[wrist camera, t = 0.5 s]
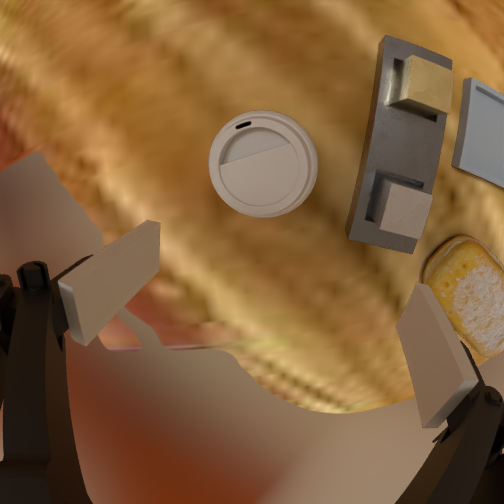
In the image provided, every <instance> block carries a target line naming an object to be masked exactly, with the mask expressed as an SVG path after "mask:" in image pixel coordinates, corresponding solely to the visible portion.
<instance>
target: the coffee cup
mask: <svg viewBox="0 0 504 504" xmlns="http://www.w3.org/2000/svg"><path fill="white" fill-rule="evenodd" d="M208 164H209V174H210V178H211V181H212V184H213V186H214V188H215V190H216V191H217V193H218V194H219V196H220V197H221V198H222V199H223V201H224V202H225V203H227V204H228V205H229V206H230V207H232V208H233V209H235V210H236V211H238V212H240V213H242V214H245V215H248V216H252V217H257V218H271V217H277V216H280V215H284V214H286V213H288V212H290V211H292V210H294V209H295V208H297V207H298V206H299V205H301V204H302V203H303V202H304V201H305V200H306V198H307V197H308V196H309V194H310V193H311V191H312V189H313V187H314V185H315V182H316V179H317V175H318V156H317V151H316V148H315V145H314V143H313V141H312V139H311V137H310V135H309V134H308V133H307V131H306V130H305V129H304V128H303V127H302V126H301V125H300V124H299V123H298V122H296V121H295V120H294V119H292V118H290V117H289V116H287V115H284V114H282V113H279V112H275V111H270V110H255V111H250V112H246V113H243V114H241V115H239V116H237V117H235V118H233V119H232V120H230V121H229V122H228V123H227V124H226V125H225V126H224V127H223V128H222V129H221V130H220V131H219V133H218V134H217V136H216V137H215V139H214V141H213V143H212V146H211V149H210V153H209V163H208Z"/></svg>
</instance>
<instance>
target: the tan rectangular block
mask: <svg viewBox="0 0 504 504" xmlns="http://www.w3.org/2000/svg"><path fill="white" fill-rule="evenodd" d="M453 81H454V72H453V71H451V70H449V69H447V68H445V67H442V66H440V65H438V64H435V63H433V62H430V61H428V60H425V59H423V58H420V57H417V56H415V55H411V56H410V57H408V58H407V59H406V60H404V61H403V62H402V63H400V64H399V65H398V66H396V67H395V68H394V69H393V73H392V81H391V89H390V96H389V103H388V105H391V106H394V107H397V108H400V109H403V110H406V111H409V112H412V113H415V114H418V115H421V116H433V115H445V114H450V109H451V101H452V92H453Z"/></svg>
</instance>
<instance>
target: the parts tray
mask: <svg viewBox="0 0 504 504" xmlns="http://www.w3.org/2000/svg"><path fill="white" fill-rule="evenodd" d="M451 166H454V167H456V168H459V169H461V170H464V171H466V172H469V173H471V174H473V175H476V176H478V177H480V178H483V179H485V180H487V181H489V182H491V183H494V184H496V185H498V186H500V187H502V188H504V95H502V94H501V93H499V92H497V91H496V90H494V89H492V88H490V87H489V86H487V85H485V84H483V83H481V82H480V81H478V80H476V79H474V78H472V77H471V78H467V79H464V83H463V95H462V104H461V112H460V120H459V127H458V133H457V139H456V145H455V150H454V155H453V160H452V165H451Z"/></svg>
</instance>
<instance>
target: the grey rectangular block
mask: <svg viewBox="0 0 504 504" xmlns="http://www.w3.org/2000/svg"><path fill="white" fill-rule="evenodd" d="M432 199H433V195H432V194H430V193H428V192H426V191H425V190H423V189H421V188H420V187H418V186H416V185H414V184H413V183H411V182H408V181H405V180H401V179H398V178H394V177H391V176H387V175H384V174H380V173H375V178H374V182H373V187H372V191H371V195H370V199H369V203H368V207H367V211H368V212H369V214H370V215H371V217H372V218H373V220H374V221H375V223H376V224H377V226H378V228H379V229H381V230H385V231H389V232H393V233H397V234H401V235H404V236H408V237H412V238H416V239H421V236H422V233H423V230H424V227H425V223H426V220H427V217H428V213H429V210H430V206H431V203H432Z"/></svg>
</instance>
